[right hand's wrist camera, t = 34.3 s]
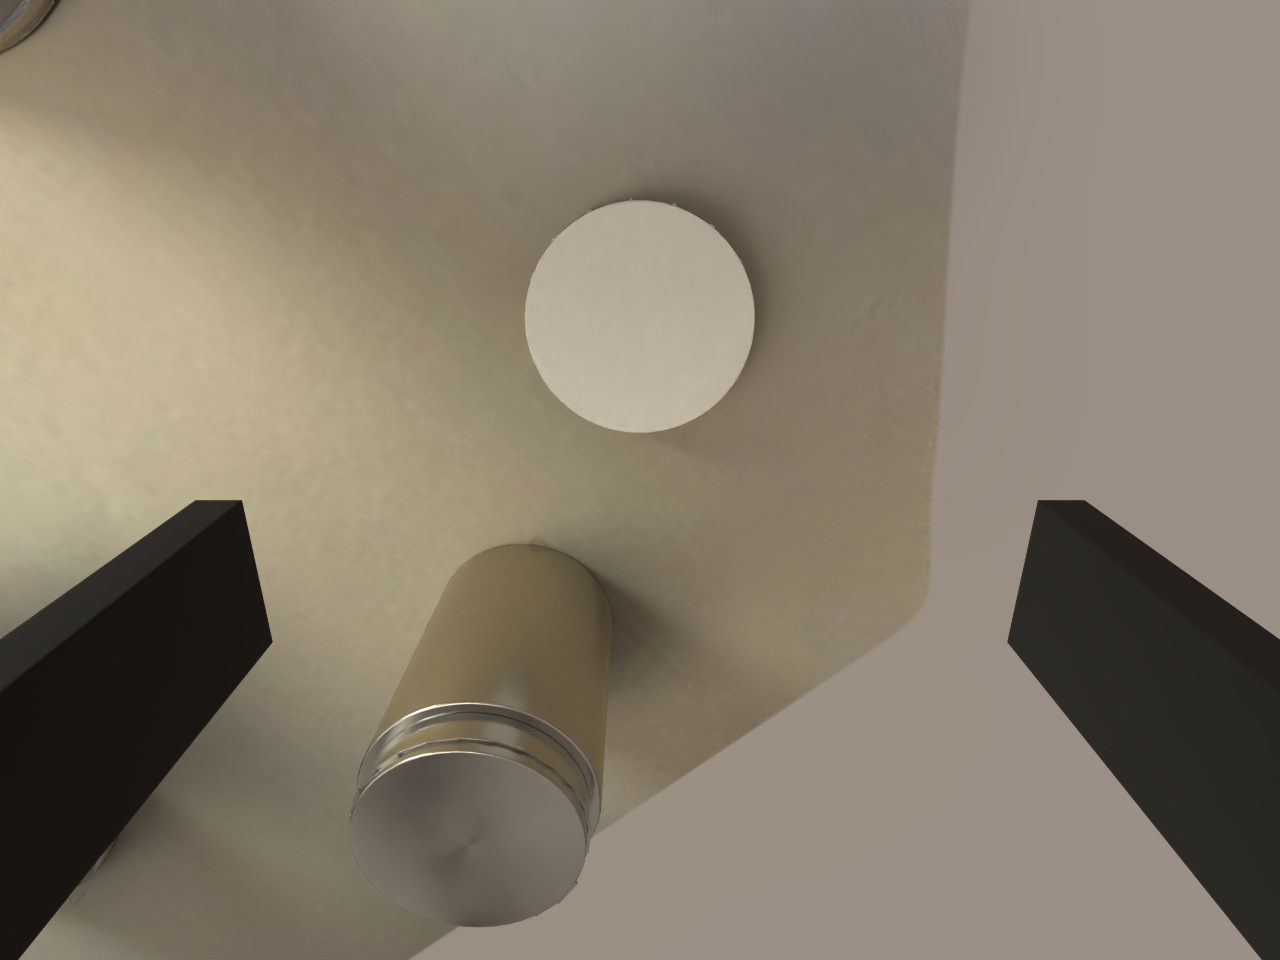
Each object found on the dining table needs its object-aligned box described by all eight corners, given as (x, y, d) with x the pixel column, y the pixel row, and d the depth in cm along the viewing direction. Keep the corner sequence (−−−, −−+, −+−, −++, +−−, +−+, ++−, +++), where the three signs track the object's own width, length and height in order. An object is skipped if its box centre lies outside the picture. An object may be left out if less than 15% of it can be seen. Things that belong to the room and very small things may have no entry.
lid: (578, 447, 40) (574, 463, 38) (494, 247, 36) (485, 251, 34) (774, 379, 38) (782, 391, 36) (708, 163, 35) (713, 162, 32)
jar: (407, 636, 44) (290, 864, 29) (500, 510, 41) (421, 695, 26) (549, 718, 47) (507, 969, 32) (647, 605, 44) (650, 824, 29)
